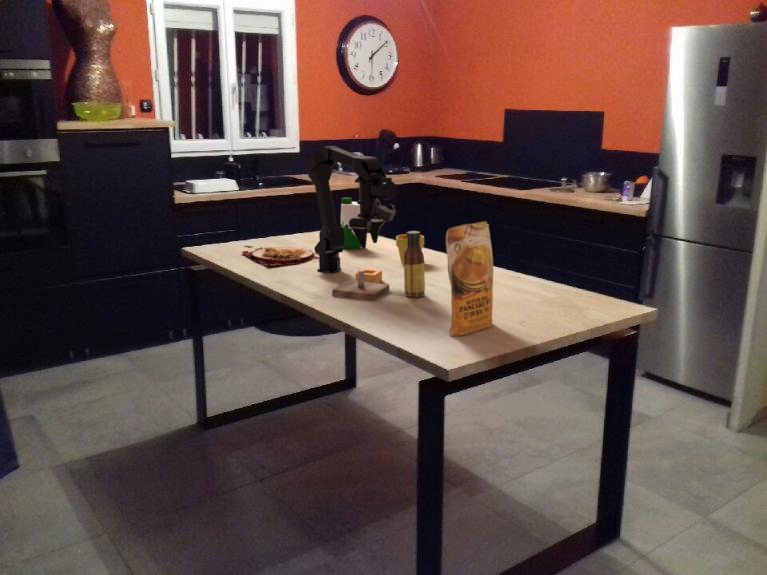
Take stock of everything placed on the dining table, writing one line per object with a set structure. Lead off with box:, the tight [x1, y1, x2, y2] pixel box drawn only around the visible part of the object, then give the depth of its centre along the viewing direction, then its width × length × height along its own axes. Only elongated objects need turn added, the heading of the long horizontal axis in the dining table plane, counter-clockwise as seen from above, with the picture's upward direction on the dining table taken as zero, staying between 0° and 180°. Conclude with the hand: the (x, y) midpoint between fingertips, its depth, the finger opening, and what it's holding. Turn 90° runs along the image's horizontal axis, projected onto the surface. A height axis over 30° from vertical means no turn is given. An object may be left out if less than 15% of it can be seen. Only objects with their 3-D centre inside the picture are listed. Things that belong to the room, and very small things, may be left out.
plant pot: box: [395, 233, 425, 265], centre depth 255 cm, size 10×10×10 cm
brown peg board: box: [331, 270, 390, 302], centre depth 216 cm, size 14×12×7 cm
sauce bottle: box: [403, 230, 426, 299], centre depth 212 cm, size 7×6×20 cm
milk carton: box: [340, 197, 362, 251], centre depth 278 cm, size 9×9×20 cm
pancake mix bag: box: [445, 220, 494, 337], centre depth 181 cm, size 7×19×28 cm, turn 131°
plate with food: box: [240, 245, 319, 267], centre depth 264 cm, size 25×26×4 cm
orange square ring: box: [355, 268, 383, 284], centre depth 229 cm, size 7×7×4 cm
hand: (369, 245), depth 226 cm, fingers open, 9 cm apart
